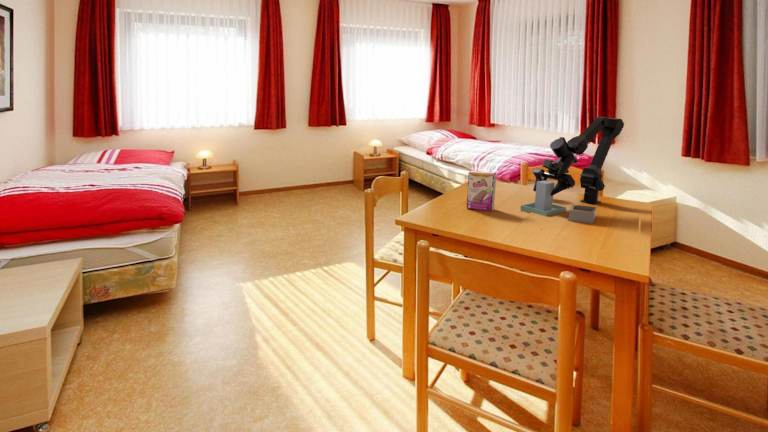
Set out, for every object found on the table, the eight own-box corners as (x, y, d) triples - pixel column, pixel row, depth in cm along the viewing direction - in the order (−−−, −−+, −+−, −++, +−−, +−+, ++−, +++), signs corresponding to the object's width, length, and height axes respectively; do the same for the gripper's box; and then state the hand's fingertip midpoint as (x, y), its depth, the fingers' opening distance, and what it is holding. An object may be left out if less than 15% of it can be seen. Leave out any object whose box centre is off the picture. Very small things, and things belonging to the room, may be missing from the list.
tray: (540, 206, 207) (540, 201, 206) (565, 212, 196) (566, 207, 196) (520, 210, 200) (520, 205, 199) (545, 217, 190) (546, 212, 189)
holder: (571, 216, 191) (572, 204, 190) (594, 219, 187) (596, 207, 185) (568, 222, 183) (569, 209, 182) (592, 225, 179) (594, 212, 178)
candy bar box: (466, 209, 203) (467, 172, 198) (469, 206, 207) (470, 170, 203) (491, 211, 198) (494, 174, 194) (494, 209, 203) (496, 172, 198)
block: (542, 207, 201) (545, 180, 198) (551, 210, 197) (554, 182, 194) (534, 209, 199) (536, 181, 196) (543, 211, 195) (546, 183, 191)
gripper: (537, 149, 201) (517, 177, 199) (573, 155, 185) (551, 185, 183) (548, 165, 207) (528, 193, 205) (584, 172, 191) (563, 202, 189)
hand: (542, 193), depth 195 cm, fingers open, 9 cm apart
